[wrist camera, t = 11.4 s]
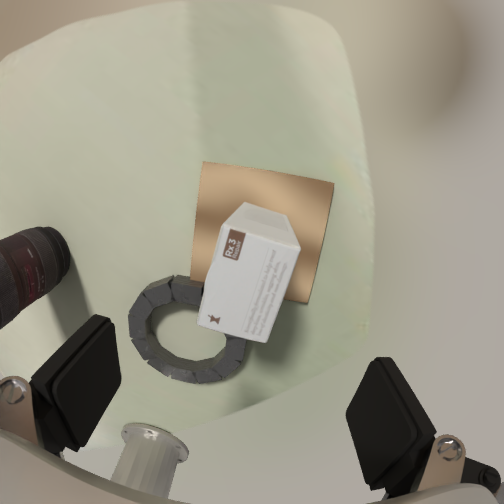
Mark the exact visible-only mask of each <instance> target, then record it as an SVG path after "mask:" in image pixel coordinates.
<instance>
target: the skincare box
mask: <svg viewBox="0 0 504 504" xmlns="http://www.w3.org/2000/svg"><path fill="white" fill-rule="evenodd" d="M300 251H301V247H300V245H299V242H298V240H297V238H296V235H295V233H294V231H293V229H292V226H291V224H290V222H289V219H288V217H287V215H284V214H281V213H278V212H274V211H271V210H268V209H265V208H262V207H259V206H256V205H253V204H250V203H247V202H244V203H243V204H242V205H241V206H240V207H239V208H238V209H237V210H236V211H235V212H234V213H233V214H232V215H231V216H230V217H229V218H228V219H227V220H226V221H225V222H224V223H223V224H222V226H221V229H220V233H219V236H218V240H217V243H216V247H215V251H214V255H213V258H212V262H211V266H210V269H209V271H208V273H207V277H206V280H205V285H204V293H203V297H202V301H201V305H200V309H199V314H198V318H197V325H199V326H202V327H205V328H208V329H211V330H215V331H218V332H222V333H225V334H229V335H233V336H237V337H240V338H244V339H248V340H252V341H258V342H262V343H266V342H267V341H268V338H269V335H270V333H271V330H272V327H273V325H274V322H275V320H276V317H277V314H278V312H279V309H280V306H281V304H282V301H283V298H284V296H285V293H286V290H287V287H288V285H289V282H290V279H291V276H292V273H293V270H294V268H295V265H296V262H297V259H298V256H299V253H300Z"/></svg>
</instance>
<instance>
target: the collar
mask: <svg viewBox="0 0 504 504" xmlns="http://www.w3.org/2000/svg"><path fill="white" fill-rule="evenodd" d="M204 283H205V282H201V281H195V280H190V277H187V276H181V275H177V276H176V277H174V275H172V276H170V277H167V278H164V279H161V280H159V281H156V282H153V283H151V284H149V286H147V287H146V288H145V289H144V290H143V291H142V292H141V293H140V295H139V297H138V298H137V300H136V301H135V303H134V304H133V306H132V308H131V309H130V311H129V313H130V314H129V315H128V321H129V333H130V337H131V338H133V339H132V340H131V341H132V343H133V344H134V346H135V347H136V349H137V350H138V352H139V353H140V355H141V356H142V358H143V359H144V360H148V362H147V363H148V364H149V365H150V366H152V367H153V368H155V369H156V370H158V371H159V372H161V373H162V374H164V375H165V376H167V377H168V376H169V375H170V374H171V379H175V380H180V381H184V382H189V383H194V384H195V383H196V380H197V382H198V383H199V384H201V383H207V382H212V381H217V380H222V377H224V378H225V377H227V376H228V375H229V374H230V373H231V372H232V371H233V370H235V369H236V368H237V367H238V366H239V365H240V364H241V361H243V356H244V350H245V345H246V339H244V338H240V337H237V336H233V335H229V334H225V333H224V334H225V336H226V338H227V340H226V346H225V347H224V348H223V349H222V350H221V351H220V352H219V353H218V354H217V355H216V356H215V357H213V358H209V359H205V360H200V361H193V360H188V359H183V358H179V357H177V356H175V355H174V354H172V353H171V352H169V351H168V350H166V349H165V348H163V347H162V346H161V345H160V343H159V342H158V340H157V338H156V337H155V335H154V333H153V332H152V330H151V312H152V311H153V309H154V308H155V307H157V306H160V305H163V304H167V303H170V302H173V301H175V302H180V303H186V304H191V305H196V306H198V307H200V305H201V301H202V297H203V293H204Z"/></svg>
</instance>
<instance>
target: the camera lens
mask: <svg viewBox="0 0 504 504" xmlns="http://www.w3.org/2000/svg"><path fill="white" fill-rule="evenodd" d="M69 265H70V255H69V250H68V247H67V244H66V242H65V240H64V238H63V237H62V235H61V234H60V233H59V232H58V231H57V230H55V229H54V228H51V227H44V228H43V227H35V228H30V229H26V230H23V231H20V232H18V233H15V234H14V235H12V236H9V237H7V238H4V239H2V240H0V329H1V328H3V327H4V326H5V325H7V324H8V323H9V322H11V321H12V320H13V319H14V318H15V317H16V316H17V315H18V314H19V313H20V312H21V311H22V310H23V309H25V308H26V307H27V306H29V305H30V304H32V303H33V302H34V301H36V300H37V299H39V298H41V297H42V296H44V295H45V294H47V293H48V292H50V291H51V290H52V289H53V288H54V287H55V286H56V285H57V284H59V282H60V281H61V280H62V277H63V276H64V275H65V274H66V273H67V271H68V269H69Z"/></svg>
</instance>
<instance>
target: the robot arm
mask: <svg viewBox="0 0 504 504" xmlns="http://www.w3.org/2000/svg"><path fill="white" fill-rule="evenodd" d="M31 379H32V380H31V381H30V382H29V383H28V382H27V381H26V380H25V379H24V378H21V377H19V376H9V377H5V378H3V379H2V380H0V504H189V503H184V502H179V501H174V500H171V499H168V495H169V492H170V488H171V484H172V480H173V476H174V472H175V469H176V465H177V463H181V462H184V461H186V459H187V458H188V454H189V451H188V449H187V447H186V445H185V444H184V443H183V442H182V441H181V440H179V439H178V438H177V437H175V436H173V435H172V434H170V433H168V432H166V431H164V430H161V429H159V428H156V427H153V426H150V425H145V424H138V423H132V424H128V425H126V426H124V428H123V430H122V432H121V436H122V438H123V440H124V442H125V443H126V445H125V447H124V450H123V452H122V454H121V456H120V459H119V461H118V463H117V466H116V468H115V471H114V473H113V475H112V478H111V480H110V481H109V480H107V479H105V478H102V477H100V476H97V475H95V474H93V473H90V472H88V471H86V470H83V469H81V468H79V467H77V466H75V465H73V464H71V463H69V462H67V461H65V459H64V455H63V450H64V448H65V447H67V448H69V449H71V450H73V451H75V452H78V450H79V448H80V447H84V446H85V445H86V444H87V442H88V440H89V438H90V436H91V435H92V433H93V431H94V429H95V428H96V426H97V424H98V422H99V421H100V419H101V417H102V415H103V414H104V412H105V410H106V408H107V407H108V405H109V403H110V402H111V400H112V398H113V397H114V395H115V393H116V392H117V390H118V388H119V386H120V384H121V372H120V365H119V358H118V351H117V343H116V334H115V325H114V323H111V320H110V318H108V317H104V316H101V315H97V314H95V315H93V316H92V317H91V318H90V319H89V320H88V321H87V322H86V323H85V324H84V325H83V326H82V327H80V328H79V329H78V330H77V331H76V332H75V333H74V334H73V335H72V336H71V337H70V338H69V339H68V340H67V341H66V342H65V343H64V344H63V345H62V346H61V347H60V348H59V349H58V350H57V351H56V352H55V353H54V354H53V355H52V356H51V357H50V358H49V359H48V360H47V361H46V362H45V363H44V364H43V365H42V366H41V367H40V368H39V369H38V370H37V371H36V372H35V373H34V375H33V376H32V377H31ZM346 419H347V422H348V426H349V429H350V432H351V436H352V439H353V441H354V446H355V449H356V452H357V456H358V459H359V462H360V466H361V469H362V473H363V477H364V480H365V483H366V484H369V486H370V490H371V491H372V490H377V489H382V488H384V487H385V490H386V493H385V495H384V497H383V498H382V500H381V501H378V502H373V503H368V504H504V482H502V483H501V478H500V475H499V473H498V471H497V470H496V469H495V468H493V467H491V466H488V465H485V464H482V463H480V462H477V461H475V460H472V459H469V458H467V457H465V455H466V451H465V447H464V444H463V443H462V442H461V441H460V440H459V439H458V438H457V437H454V436H453V435H448V434H447V435H441V436H439V437H438V438H436V439H435V437H434V434H436V432H437V431H436V429H435V428H434V426H433V424H432V422H431V421H430V419H429V417H428V415H427V414H426V412H425V410H424V409H423V407H422V405H421V404H420V402H419V400H418V399H417V397H416V396H415V394H414V392H413V391H412V389H411V387H410V386H409V384H408V383H407V381H406V380H405V378H404V376H403V375H402V373H401V372H400V370H399V368H398V367H397V366H396V364H395V362H394V361H393V359H392V358H390V357H377V358H375V359H374V361H371V362H370V364H369V366H368V368H367V370H366V372H365V375H364V377H363V379H362V381H361V383H360V385H359V387H358V389H357V391H356V393H355V395H354V397H353V399H352V401H351V403H350V404H349V406H348V408H347V410H346Z"/></svg>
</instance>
